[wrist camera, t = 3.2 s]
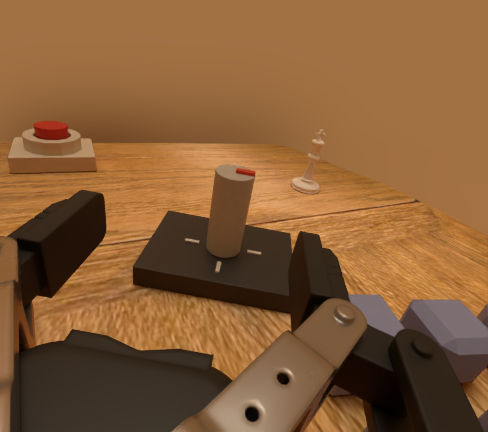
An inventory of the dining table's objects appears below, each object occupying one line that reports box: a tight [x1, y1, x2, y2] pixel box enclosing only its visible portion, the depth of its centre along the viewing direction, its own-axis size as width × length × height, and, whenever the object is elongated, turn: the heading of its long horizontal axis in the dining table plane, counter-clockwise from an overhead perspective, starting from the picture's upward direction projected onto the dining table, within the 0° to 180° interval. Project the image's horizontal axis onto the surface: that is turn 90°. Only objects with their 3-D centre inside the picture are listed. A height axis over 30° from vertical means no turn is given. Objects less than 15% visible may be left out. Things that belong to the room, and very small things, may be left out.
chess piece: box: [291, 129, 326, 194], centre depth 49 cm, size 5×5×10 cm
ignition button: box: [34, 121, 69, 140], centre depth 42 cm, size 4×4×2 cm
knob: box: [206, 165, 255, 258], centre depth 28 cm, size 3×3×8 cm
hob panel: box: [133, 211, 292, 313], centre depth 30 cm, size 14×10×2 cm
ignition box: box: [8, 129, 96, 173], centre depth 43 cm, size 10×8×4 cm
